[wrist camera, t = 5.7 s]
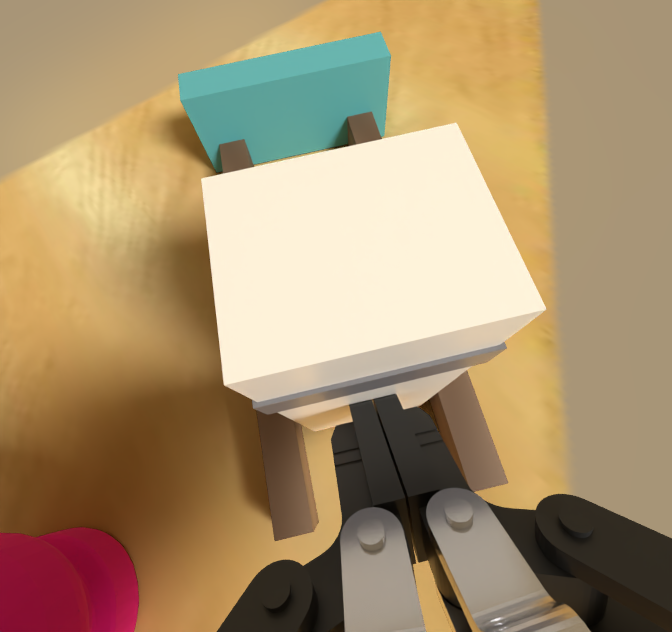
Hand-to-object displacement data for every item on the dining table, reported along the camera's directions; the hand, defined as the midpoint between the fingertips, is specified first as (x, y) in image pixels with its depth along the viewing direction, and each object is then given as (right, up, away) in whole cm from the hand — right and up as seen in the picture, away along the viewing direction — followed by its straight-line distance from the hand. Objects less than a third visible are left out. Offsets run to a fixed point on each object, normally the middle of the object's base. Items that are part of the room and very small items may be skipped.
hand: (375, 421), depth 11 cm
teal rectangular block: (-4, +15, +12) cm, 19 cm away
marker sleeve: (0, 0, +6) cm, 6 cm away
